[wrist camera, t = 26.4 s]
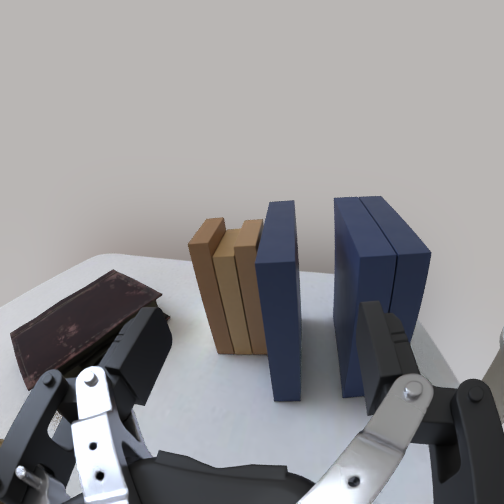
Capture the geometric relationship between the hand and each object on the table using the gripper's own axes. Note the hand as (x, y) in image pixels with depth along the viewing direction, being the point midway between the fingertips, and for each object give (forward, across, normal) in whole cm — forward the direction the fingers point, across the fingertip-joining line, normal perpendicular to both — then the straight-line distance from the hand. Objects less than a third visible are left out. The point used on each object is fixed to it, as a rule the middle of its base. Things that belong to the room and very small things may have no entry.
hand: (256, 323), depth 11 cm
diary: (+16, +32, +19) cm, 41 cm away
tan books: (+19, +6, +19) cm, 28 cm away
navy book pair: (+16, -9, +19) cm, 26 cm away
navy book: (+15, 0, +19) cm, 25 cm away
